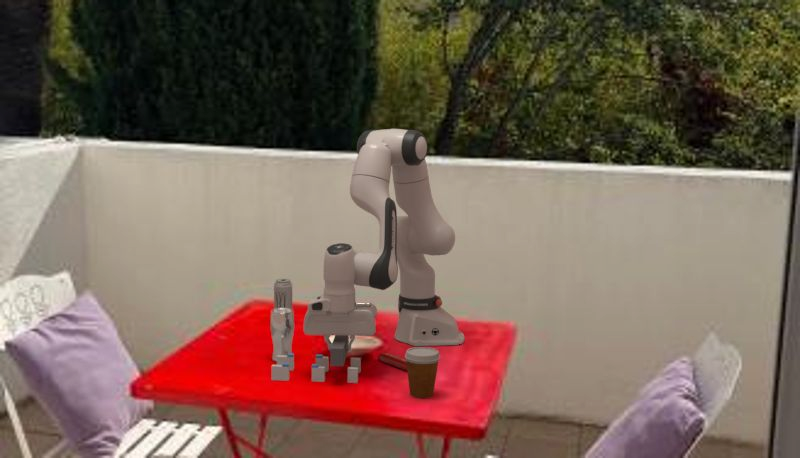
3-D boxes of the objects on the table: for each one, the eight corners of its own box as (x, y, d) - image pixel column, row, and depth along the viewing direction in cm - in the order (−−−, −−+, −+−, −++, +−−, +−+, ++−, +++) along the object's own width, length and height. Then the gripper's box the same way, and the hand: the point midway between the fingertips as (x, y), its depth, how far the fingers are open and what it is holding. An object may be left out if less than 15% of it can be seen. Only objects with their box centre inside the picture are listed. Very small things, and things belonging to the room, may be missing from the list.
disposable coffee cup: (402, 388, 279) (403, 346, 276) (437, 388, 279) (438, 346, 277) (405, 400, 269) (406, 357, 267) (441, 400, 270) (442, 356, 268)
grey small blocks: (360, 371, 293) (360, 355, 292) (357, 382, 283) (357, 367, 282) (277, 368, 294) (277, 353, 293) (271, 380, 284) (271, 364, 283)
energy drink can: (271, 325, 339) (271, 281, 336) (277, 321, 345) (276, 277, 342) (289, 326, 338) (289, 282, 335) (294, 322, 344) (294, 278, 341)
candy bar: (420, 372, 294) (420, 362, 293) (411, 374, 292) (411, 364, 291) (384, 359, 306) (384, 349, 305) (375, 361, 303) (375, 351, 303)
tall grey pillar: (348, 348, 295) (348, 331, 294) (343, 366, 280) (343, 348, 279) (336, 348, 295) (336, 331, 294) (330, 365, 280) (330, 348, 279)
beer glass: (290, 363, 299) (290, 314, 296) (267, 361, 300) (267, 312, 297) (297, 356, 305) (297, 308, 303) (274, 355, 307) (274, 306, 304)
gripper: (377, 299, 287) (377, 347, 290) (305, 298, 288) (305, 345, 291) (375, 305, 281) (375, 353, 284) (302, 304, 282) (302, 352, 284)
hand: (339, 349), depth 287 cm, fingers closed on tall grey pillar, 3 cm apart
